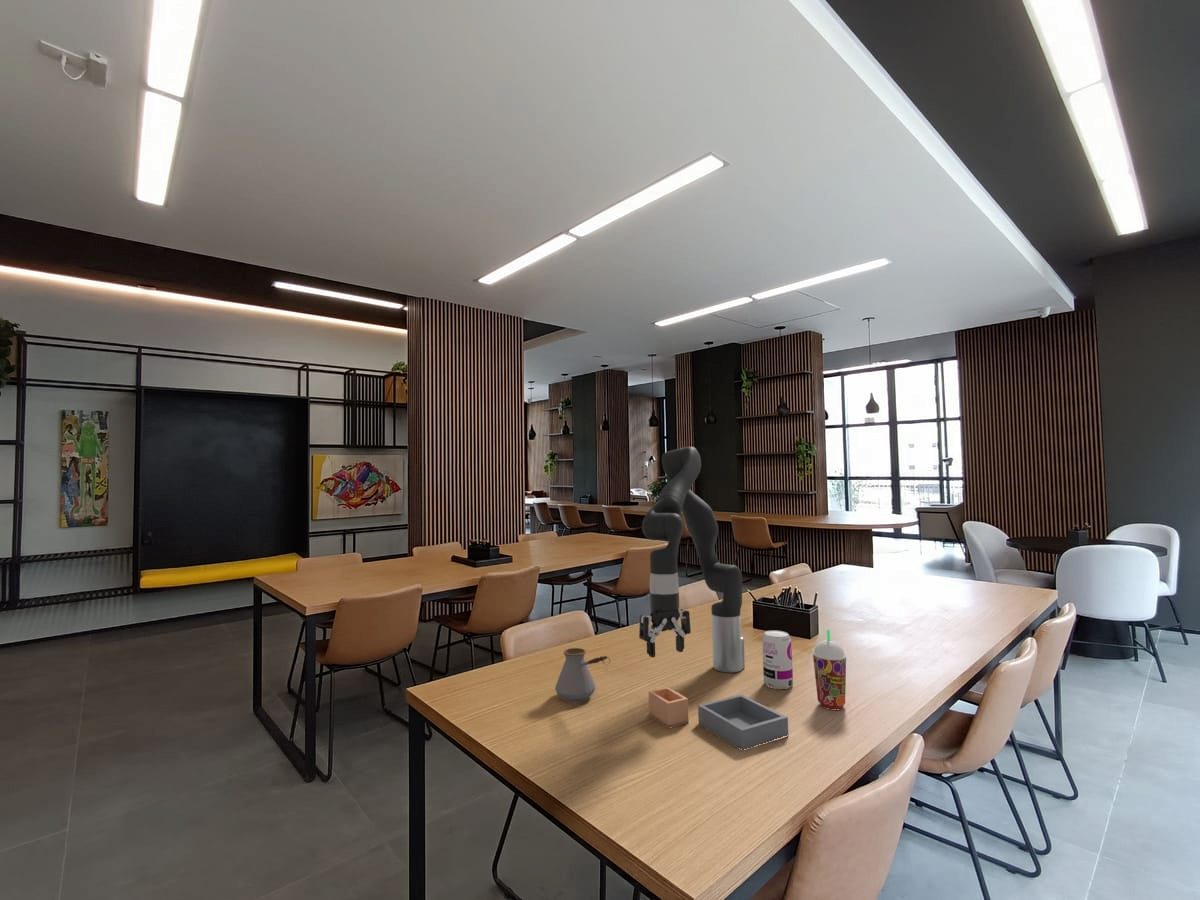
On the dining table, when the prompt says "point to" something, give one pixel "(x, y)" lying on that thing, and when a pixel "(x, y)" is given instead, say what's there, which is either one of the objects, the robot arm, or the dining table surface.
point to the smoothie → (830, 673)
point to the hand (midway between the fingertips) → (665, 653)
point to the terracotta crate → (668, 707)
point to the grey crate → (742, 721)
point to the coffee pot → (576, 676)
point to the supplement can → (777, 659)
